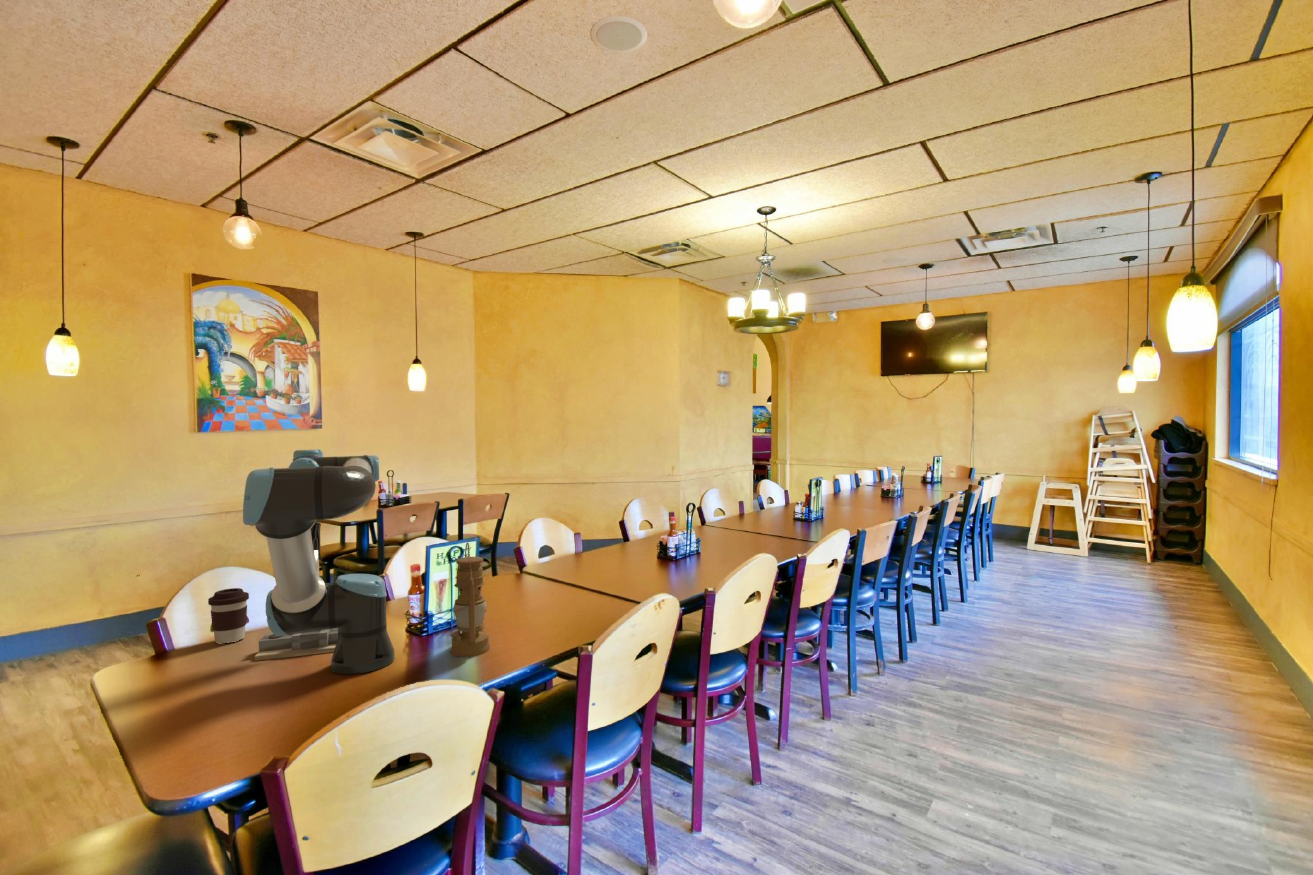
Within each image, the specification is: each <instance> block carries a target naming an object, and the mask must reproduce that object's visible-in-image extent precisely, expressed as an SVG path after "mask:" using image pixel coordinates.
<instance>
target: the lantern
mask: <svg viewBox="0 0 1313 875" xmlns="http://www.w3.org/2000/svg"><path fill="white" fill-rule="evenodd" d="M455 562H456V565H459V566H458V568H457V570H456V576H455V579H456V583H454V587H455V588H457V589H458V593H459V594H458V596H457V599H454V604H453V607H452V608H453V609H452V611H453V612H452V614H453V615H452V616H453V620H454V622H455V625H456V630H455V631H453V632H452V633H451V634H450V637H451V647H450V653H451V655H453V656H456V657H463V658H465V657H474V656H479V655H482V654H485V653H487V652H489V650H490V648H491V646H490V645H491V644H490V642H489V640H490V639H489V638H490V637H489V634H488V633H486V632H484V631H480V630H481V629H483V628H484V618H485V614H486V610H487V602H486V598H485V596H483V593H481V592H482V587H483V586H485V585H486V582H485V581H484V576H485V574H484V572H483V571H484V569H483V567H482V563H483V562H484V558H483V557H480V556H470V543H469V542H466V544H465V551H464V557H460V558H457V559H456V560H455Z"/></svg>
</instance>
